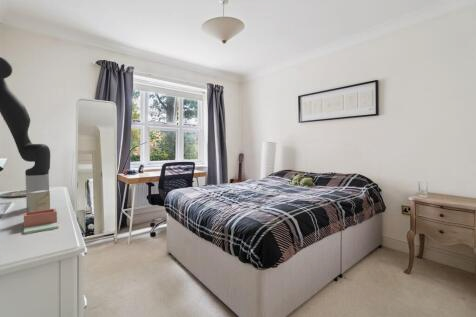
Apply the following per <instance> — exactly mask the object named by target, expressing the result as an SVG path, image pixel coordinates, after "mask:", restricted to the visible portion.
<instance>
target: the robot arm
mask: <svg viewBox="0 0 476 317" xmlns="http://www.w3.org/2000/svg"><path fill="white" fill-rule="evenodd" d="M12 74H13V66H12V64H11V63H10V62H9V60H7V59H5V58H3V57H1V56H0V115H1V117H2V118H3V121H4V123H5V124H6V126H7V127H8V130H9V131H10V133H11V136H12V138H13V140H14V143H15V146H16V148H17V152H18V154H19V156H20V158H21V159H23V161H26V162H30V163H32V162H33V163H34V165H33V166H32V167H30V168H27V169H26V170H25V193H26V197H25V198H26V199H25V201H26V202H25V203H26V210H29V202H28V192H35V191H41V190H49V191H50V178H49V177H50V176H49V173H50V168H51V149H50V147H49V146H48V145H47V144H44V143H33V142H32V141H31V139H30V137H29V128H30V124H31V118H30V114H29V113H28V109H27V108H26V106H25V105H24V103H23V102H22V100H20V99H19V98H18V96H17V95H16V94H15V93H14V92H13V91H12V90H11V89H10V87H9V86H8V84H7V81H6V80H5V79H7V78H9V77H10V76H11V75H12ZM3 170H4V168H3V167H2V166H1V165H0V173H1V172H2V171H3Z"/></svg>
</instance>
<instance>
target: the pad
mask: <svg viewBox="0 0 476 317" xmlns="http://www.w3.org/2000/svg"><path fill="white" fill-rule="evenodd" d="M59 228H60V226H59V224H58V222H57V223H51V224H44V225H38V226H32V227H26V228H24V227H23V235H26V234H33V233H39V232H44V231H49V230H55V229H59Z"/></svg>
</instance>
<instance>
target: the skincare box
mask: <svg viewBox="0 0 476 317" xmlns="http://www.w3.org/2000/svg"><path fill="white" fill-rule="evenodd" d="M50 192H51V191H50V189H49V190H41V191H35V192H28V202H29V209H28V212H33V211H40V210H48V209H51V197H50V196H51V193H50Z"/></svg>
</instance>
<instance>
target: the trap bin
mask: <svg viewBox="0 0 476 317" xmlns="http://www.w3.org/2000/svg"><path fill="white" fill-rule="evenodd" d="M51 223H58V211H57V209H56V208H50V209H48V210H40V211H33V212H29V211H25V212H23V229H24V228H26V227H32V226H38V225H44V224H51Z"/></svg>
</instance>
